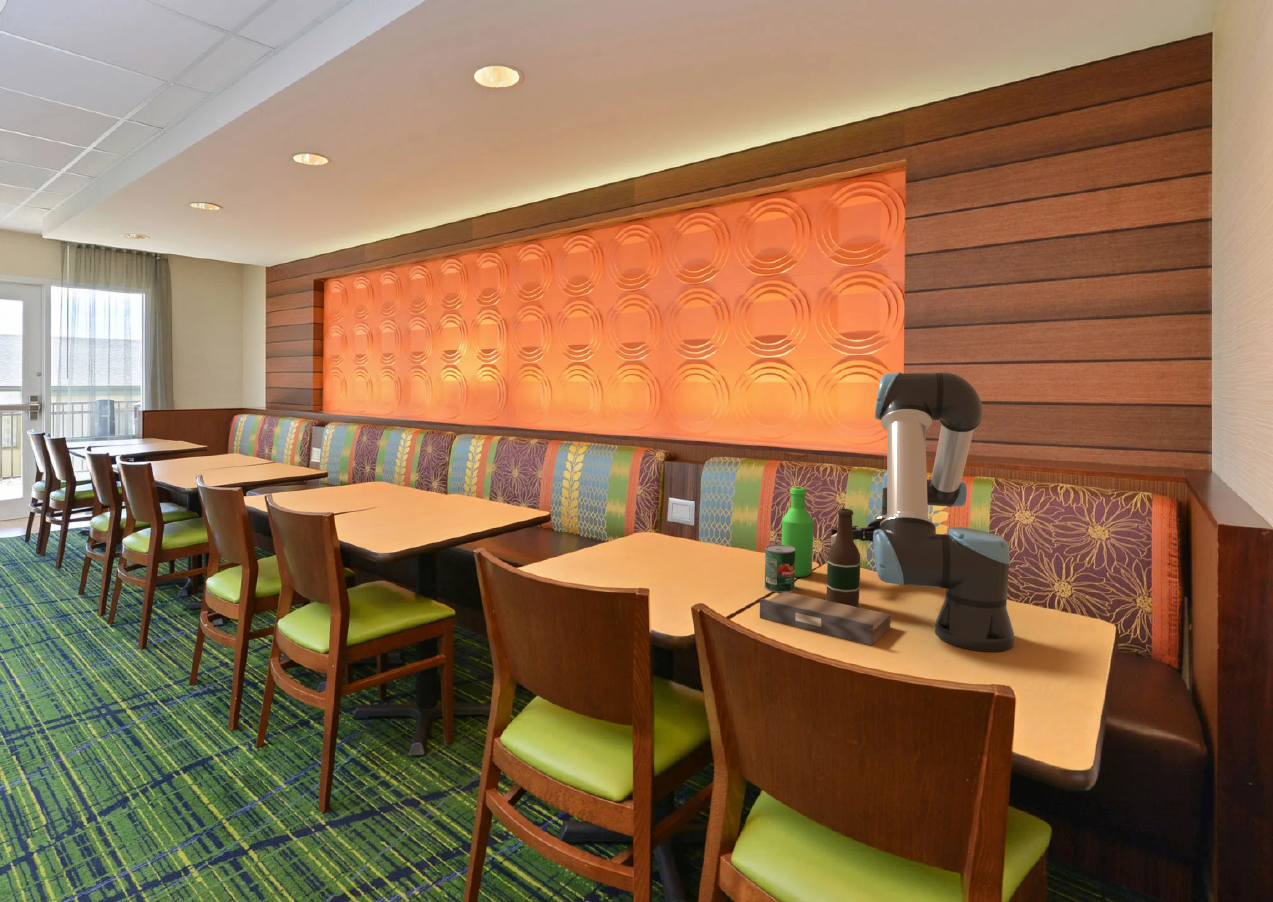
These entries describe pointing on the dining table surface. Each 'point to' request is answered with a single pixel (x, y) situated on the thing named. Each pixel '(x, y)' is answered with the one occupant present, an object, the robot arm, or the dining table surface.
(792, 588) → the canned tomato
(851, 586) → the beer bottle
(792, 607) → the shelf
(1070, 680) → the dining table surface
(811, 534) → the bottle
